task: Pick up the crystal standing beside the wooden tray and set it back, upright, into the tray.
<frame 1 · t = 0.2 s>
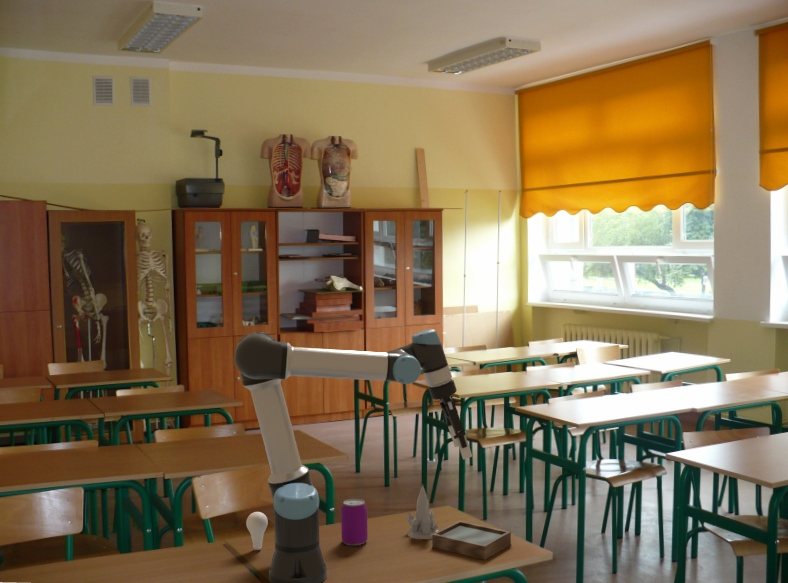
hand: (463, 451, 227), 28 cm above the table, tool tilted 20°, fingers open, 13 cm apart
wooden tray: (471, 545, 229), on the table
beverage can: (354, 542, 233), on the table
crystal: (423, 535, 239), on the table
lightbulb: (257, 550, 228), on the table
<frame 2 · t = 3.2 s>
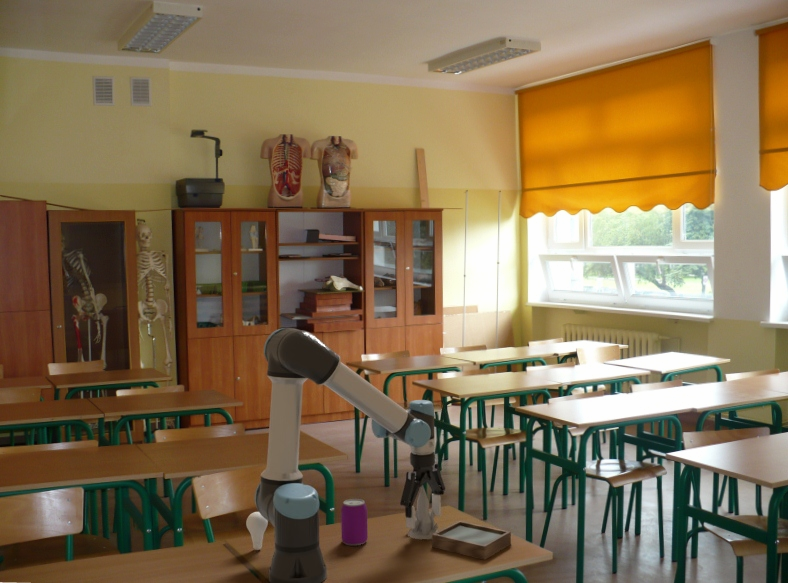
hand: (423, 521, 239), 4 cm above the table, tool pointing down, fingers open, 13 cm apart
crystal: (423, 535, 239), on the table, touching gripper
everything else where it was.
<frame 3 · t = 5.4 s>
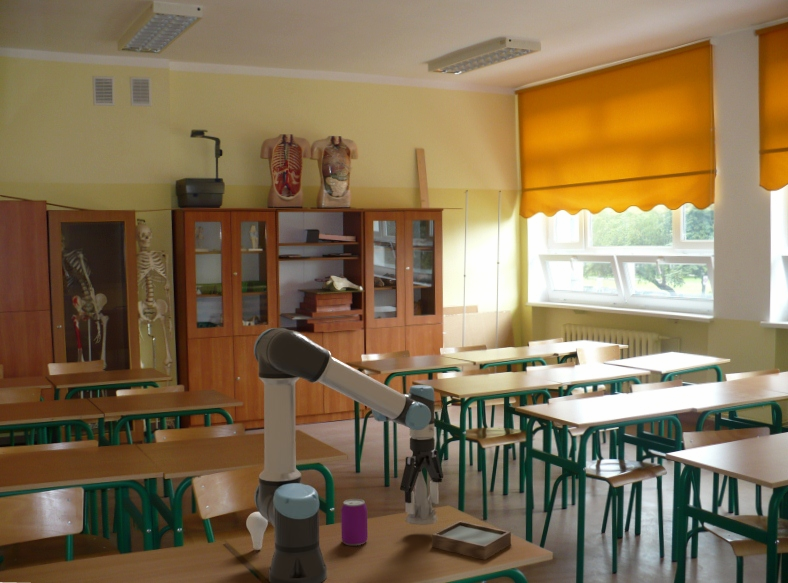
hand: (422, 508, 239), 8 cm above the table, tool pointing down, fingers closed on crystal, 12 cm apart
crystal: (421, 520, 238), point 4 cm above the table, touching gripper
everything else where it was.
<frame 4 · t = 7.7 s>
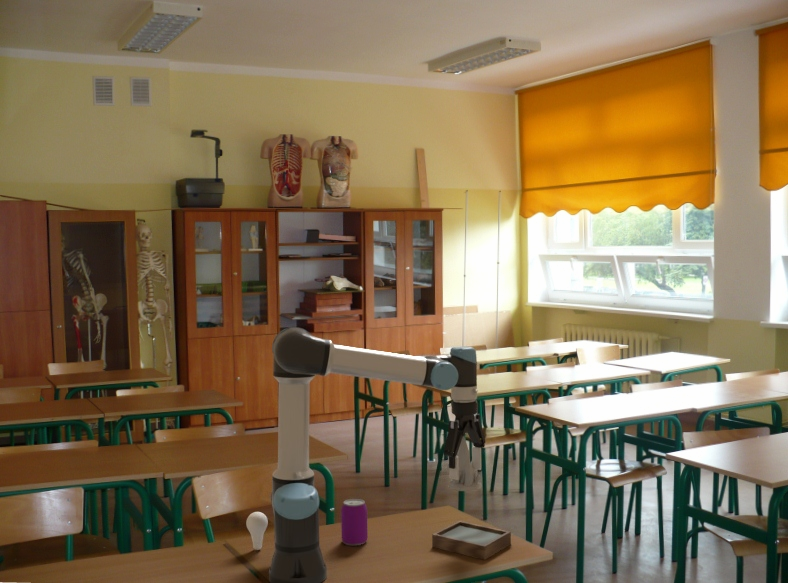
hand: (465, 474, 229), 21 cm above the table, tool pointing down, fingers closed on crystal, 12 cm apart
crystal: (465, 487, 229), point 17 cm above the table, touching gripper
everything else where it was.
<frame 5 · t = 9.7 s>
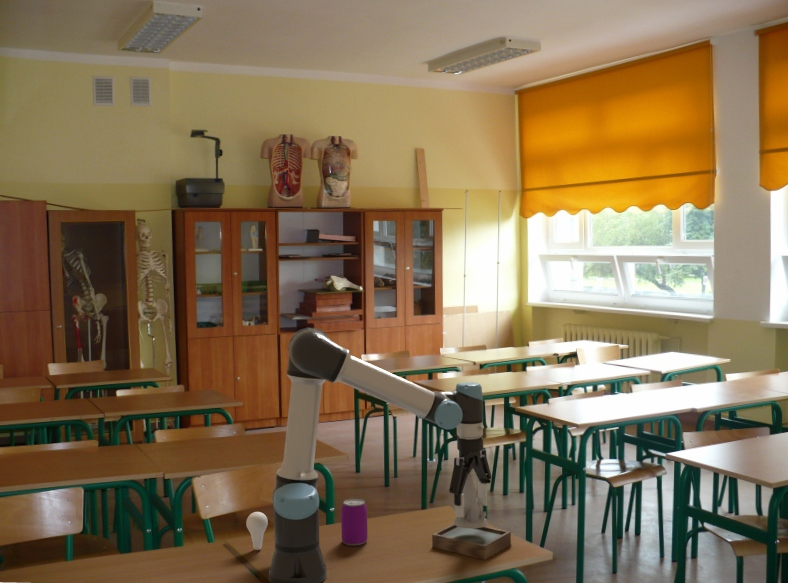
hand: (471, 510, 228), 10 cm above the table, tool pointing down, fingers closed on crystal, 12 cm apart
crystal: (470, 524, 228), point 7 cm above the table, touching gripper
everything else where it was.
when the fingers open (8 cm above the table, at t = 11.3 s): crystal drops 1 cm, resting on wooden tray.
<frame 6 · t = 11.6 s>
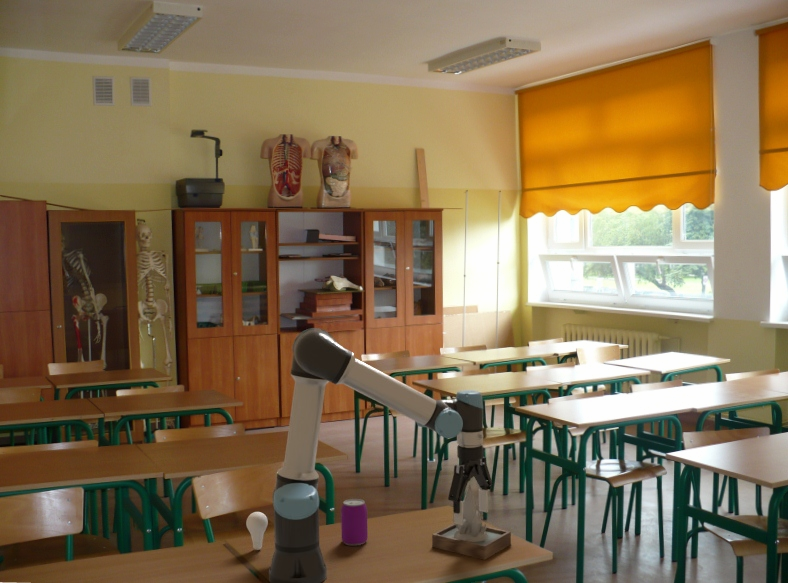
hand: (471, 517, 228), 8 cm above the table, tool pointing down, fingers open, 13 cm apart
crystal: (471, 537, 228), point 3 cm above the table, touching wooden tray
everything else where it was.
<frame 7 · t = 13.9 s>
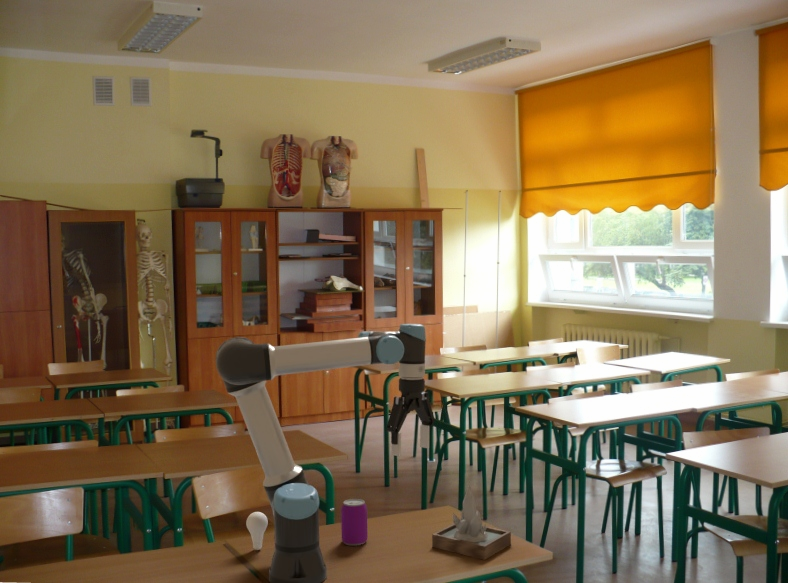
hand: (410, 451, 227), 28 cm above the table, tool pointing down, fingers open, 13 cm apart
nothing on the table moved.
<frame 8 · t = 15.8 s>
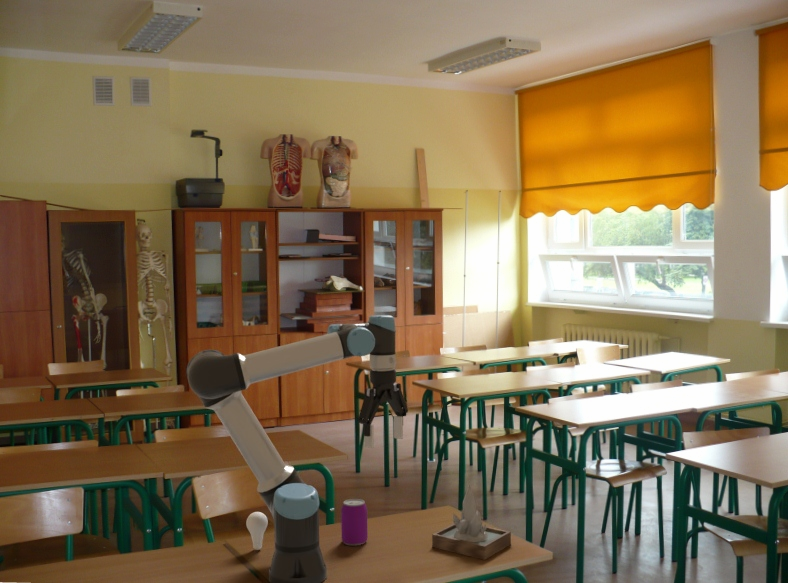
hand: (384, 442, 227), 31 cm above the table, tool pointing down, fingers open, 13 cm apart
nothing on the table moved.
at the end: crystal 0.5 cm off-centre on the wooden tray, point 2.6 cm above the wooden tray's base; crystal tilted 0°; the gripper is holding nothing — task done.
